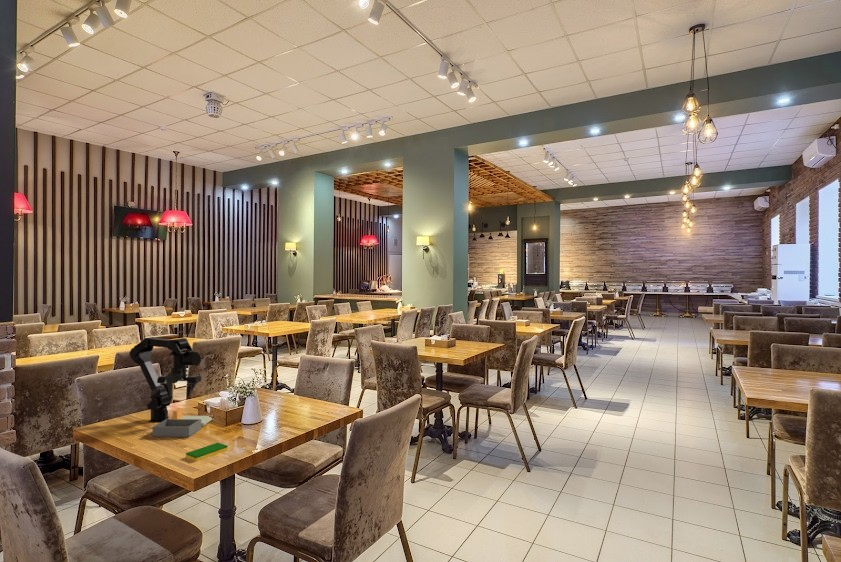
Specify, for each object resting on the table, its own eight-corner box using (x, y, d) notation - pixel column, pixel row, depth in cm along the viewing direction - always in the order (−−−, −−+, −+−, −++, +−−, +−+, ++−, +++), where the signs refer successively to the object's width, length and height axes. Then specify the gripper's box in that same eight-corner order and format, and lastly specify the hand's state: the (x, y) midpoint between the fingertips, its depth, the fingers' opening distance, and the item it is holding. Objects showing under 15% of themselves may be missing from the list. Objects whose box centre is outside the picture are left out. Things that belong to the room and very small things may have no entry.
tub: (152, 437, 197) (152, 426, 197) (166, 428, 208) (166, 419, 208) (188, 437, 197) (188, 427, 197) (201, 429, 208) (201, 419, 208)
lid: (168, 426, 211) (169, 413, 211) (181, 419, 222) (181, 406, 222) (203, 427, 211) (203, 413, 211) (214, 419, 222) (214, 406, 222)
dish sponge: (228, 451, 183) (228, 445, 183) (196, 463, 171) (196, 456, 171) (217, 448, 186) (217, 442, 186) (185, 459, 175) (185, 452, 175)
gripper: (150, 367, 209) (150, 401, 209) (190, 368, 209) (189, 401, 209) (164, 363, 220) (164, 395, 220) (201, 363, 220) (201, 395, 220)
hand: (179, 396), depth 217 cm, fingers open, 9 cm apart
